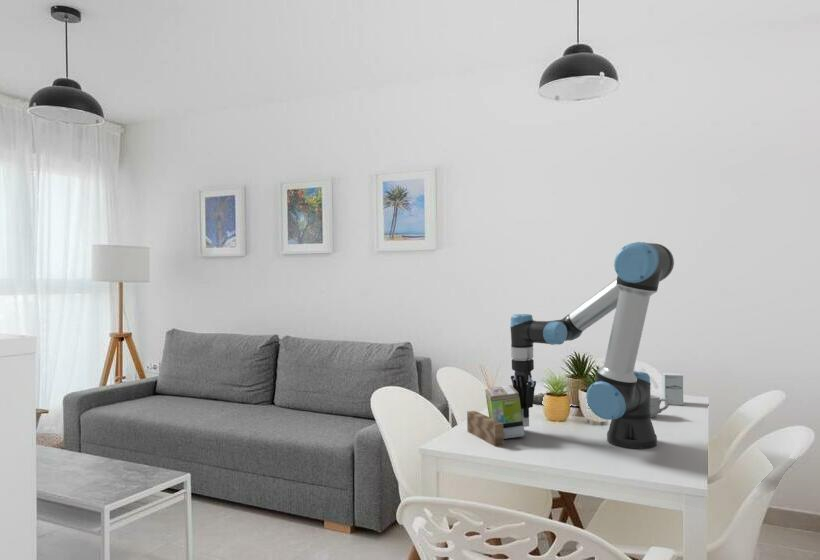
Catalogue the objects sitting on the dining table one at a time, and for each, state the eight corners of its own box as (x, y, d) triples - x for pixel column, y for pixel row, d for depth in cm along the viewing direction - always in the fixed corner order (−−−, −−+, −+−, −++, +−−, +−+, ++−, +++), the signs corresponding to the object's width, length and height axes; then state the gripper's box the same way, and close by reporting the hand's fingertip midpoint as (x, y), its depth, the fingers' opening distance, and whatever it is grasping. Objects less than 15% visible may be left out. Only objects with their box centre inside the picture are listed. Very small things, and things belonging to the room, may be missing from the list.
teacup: (624, 416, 219) (624, 395, 219) (638, 411, 226) (638, 391, 226) (660, 422, 208) (660, 400, 208) (673, 417, 216) (673, 396, 216)
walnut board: (503, 445, 183) (503, 423, 183) (495, 446, 182) (495, 424, 182) (475, 430, 202) (474, 410, 202) (467, 431, 200) (467, 411, 200)
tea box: (526, 436, 188) (519, 391, 188) (496, 440, 188) (489, 396, 188) (518, 424, 203) (511, 383, 203) (490, 428, 203) (483, 388, 203)
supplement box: (664, 404, 237) (663, 374, 237) (662, 401, 244) (661, 371, 244) (683, 405, 235) (683, 375, 235) (680, 402, 242) (680, 372, 242)
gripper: (542, 360, 192) (544, 429, 193) (521, 355, 205) (523, 420, 206) (523, 362, 190) (525, 432, 191) (503, 356, 202) (505, 422, 203)
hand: (524, 425), depth 198 cm, fingers closed
